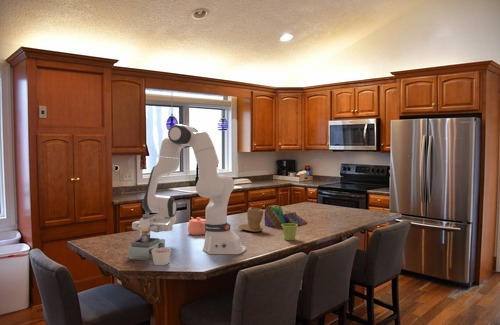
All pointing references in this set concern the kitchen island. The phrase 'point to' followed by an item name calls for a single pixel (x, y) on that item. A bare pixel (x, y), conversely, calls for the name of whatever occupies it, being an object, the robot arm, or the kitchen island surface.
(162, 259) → the candle
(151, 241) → the green tray box
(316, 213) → the kitchen island surface
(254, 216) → the brown hat
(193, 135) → the robot arm
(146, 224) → the frosted glass bottle
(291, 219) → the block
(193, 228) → the teapot
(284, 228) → the plant pot
